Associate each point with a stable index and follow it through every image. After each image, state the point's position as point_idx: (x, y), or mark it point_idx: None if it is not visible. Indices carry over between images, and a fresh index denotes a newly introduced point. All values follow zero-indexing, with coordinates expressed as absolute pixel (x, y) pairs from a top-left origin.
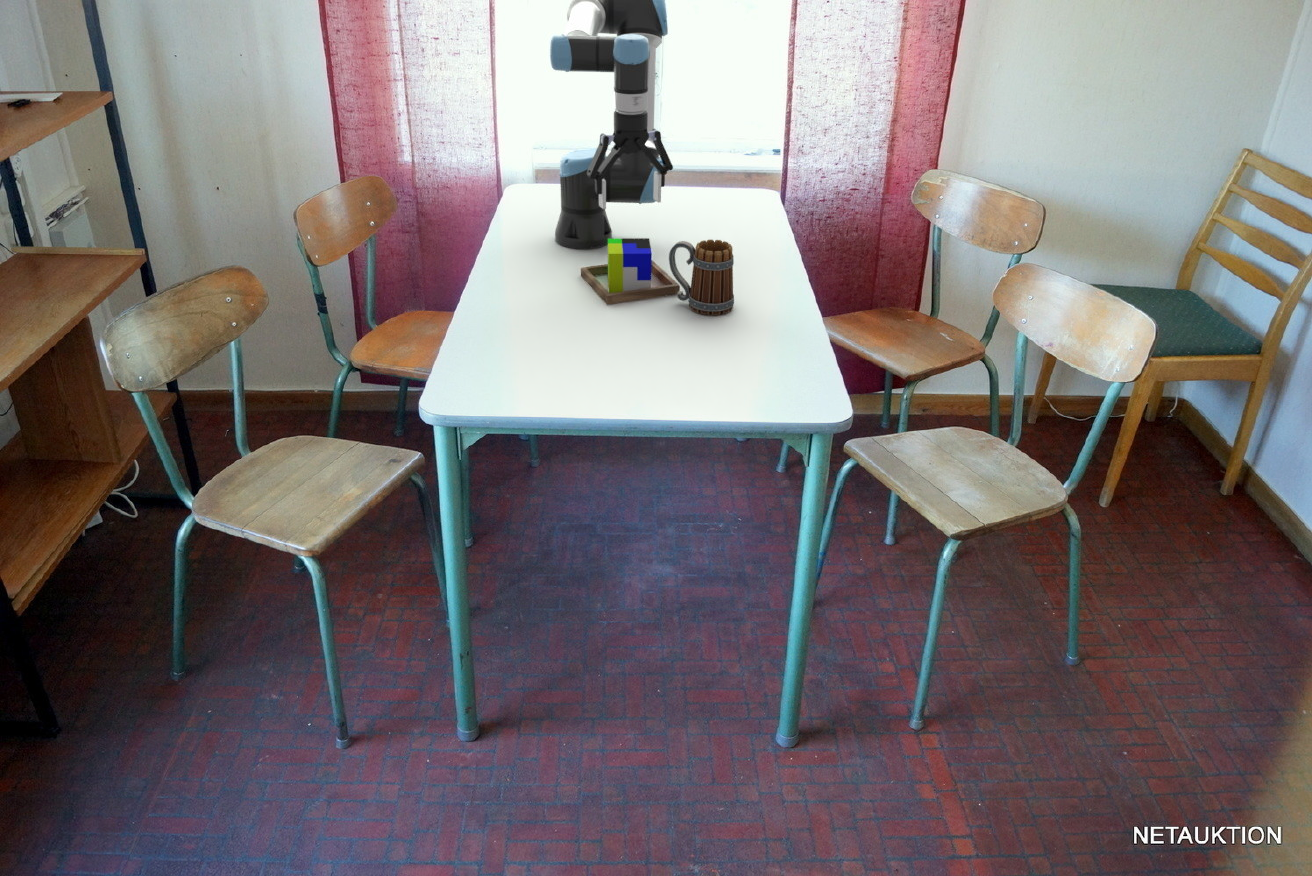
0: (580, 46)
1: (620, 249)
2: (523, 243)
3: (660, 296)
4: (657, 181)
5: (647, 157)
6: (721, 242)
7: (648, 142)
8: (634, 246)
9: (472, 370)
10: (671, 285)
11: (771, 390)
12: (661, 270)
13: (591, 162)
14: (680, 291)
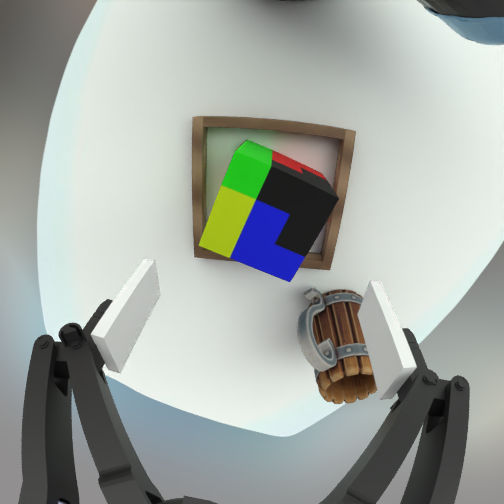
0: None
1: (234, 233)
2: None
3: None
4: (376, 370)
5: (361, 464)
6: None
7: None
8: (275, 231)
9: (58, 312)
10: (317, 265)
11: (271, 418)
12: (341, 199)
13: (28, 387)
14: (313, 293)
